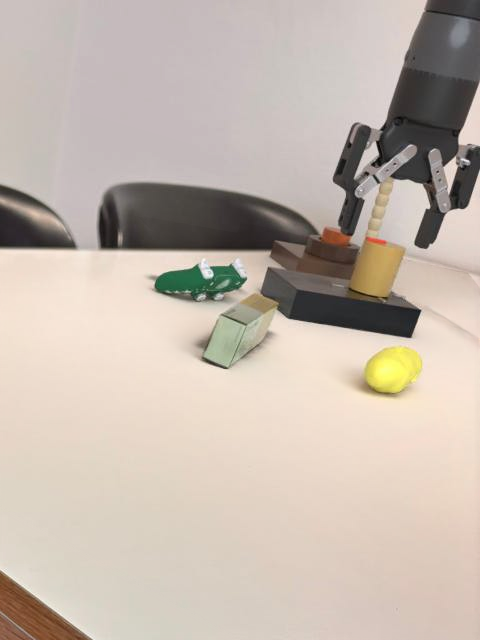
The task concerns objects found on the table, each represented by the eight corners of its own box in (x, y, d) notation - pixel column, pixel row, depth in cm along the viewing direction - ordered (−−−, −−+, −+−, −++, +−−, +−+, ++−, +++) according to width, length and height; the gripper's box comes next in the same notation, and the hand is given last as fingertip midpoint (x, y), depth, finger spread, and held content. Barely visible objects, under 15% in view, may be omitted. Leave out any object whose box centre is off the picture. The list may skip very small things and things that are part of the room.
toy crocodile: (161, 313, 111) (203, 285, 106) (149, 279, 111) (190, 249, 106) (217, 311, 116) (259, 284, 112) (206, 278, 117) (247, 250, 112)
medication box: (229, 371, 90) (247, 325, 88) (200, 358, 90) (217, 313, 88) (263, 342, 99) (280, 300, 97) (236, 331, 100) (253, 289, 98)
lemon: (425, 393, 95) (442, 350, 93) (386, 404, 89) (403, 359, 87) (382, 377, 97) (398, 334, 95) (342, 387, 91) (358, 342, 89)
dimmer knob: (380, 289, 118) (398, 240, 115) (394, 299, 114) (413, 248, 111) (343, 283, 117) (359, 233, 114) (356, 293, 113) (373, 241, 111)
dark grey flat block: (377, 312, 122) (387, 284, 120) (414, 338, 114) (425, 308, 112) (259, 293, 120) (268, 264, 118) (288, 318, 111) (298, 287, 110)
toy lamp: (343, 265, 146) (386, 133, 138) (341, 259, 150) (383, 130, 142) (377, 273, 146) (423, 141, 137) (375, 267, 150) (419, 138, 141)
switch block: (352, 271, 143) (363, 240, 141) (382, 290, 135) (393, 258, 133) (269, 257, 141) (278, 225, 139) (293, 275, 133) (304, 242, 131)
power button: (341, 243, 138) (346, 229, 137) (352, 250, 135) (356, 235, 134) (315, 239, 138) (320, 225, 137) (325, 245, 134) (330, 231, 134)
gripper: (389, 60, 101) (333, 238, 109) (526, 87, 103) (460, 259, 111) (360, 54, 107) (309, 223, 115) (490, 80, 109) (430, 243, 118)
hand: (383, 240), depth 113 cm, fingers open, 8 cm apart
